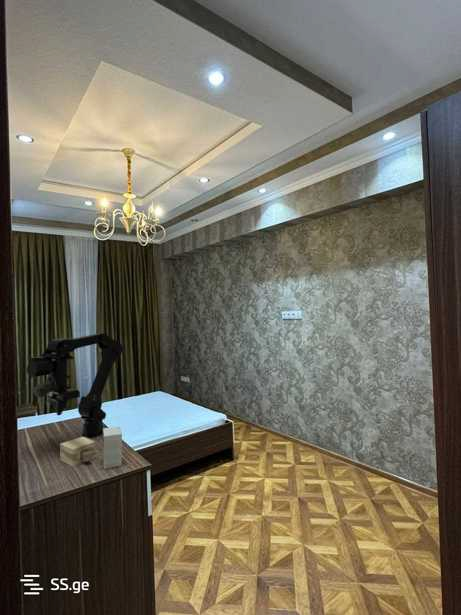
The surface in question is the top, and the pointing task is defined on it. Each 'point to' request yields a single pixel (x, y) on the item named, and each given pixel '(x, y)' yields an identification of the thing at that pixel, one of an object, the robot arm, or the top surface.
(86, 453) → the pin
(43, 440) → the top surface
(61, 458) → the block
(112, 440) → the small box
